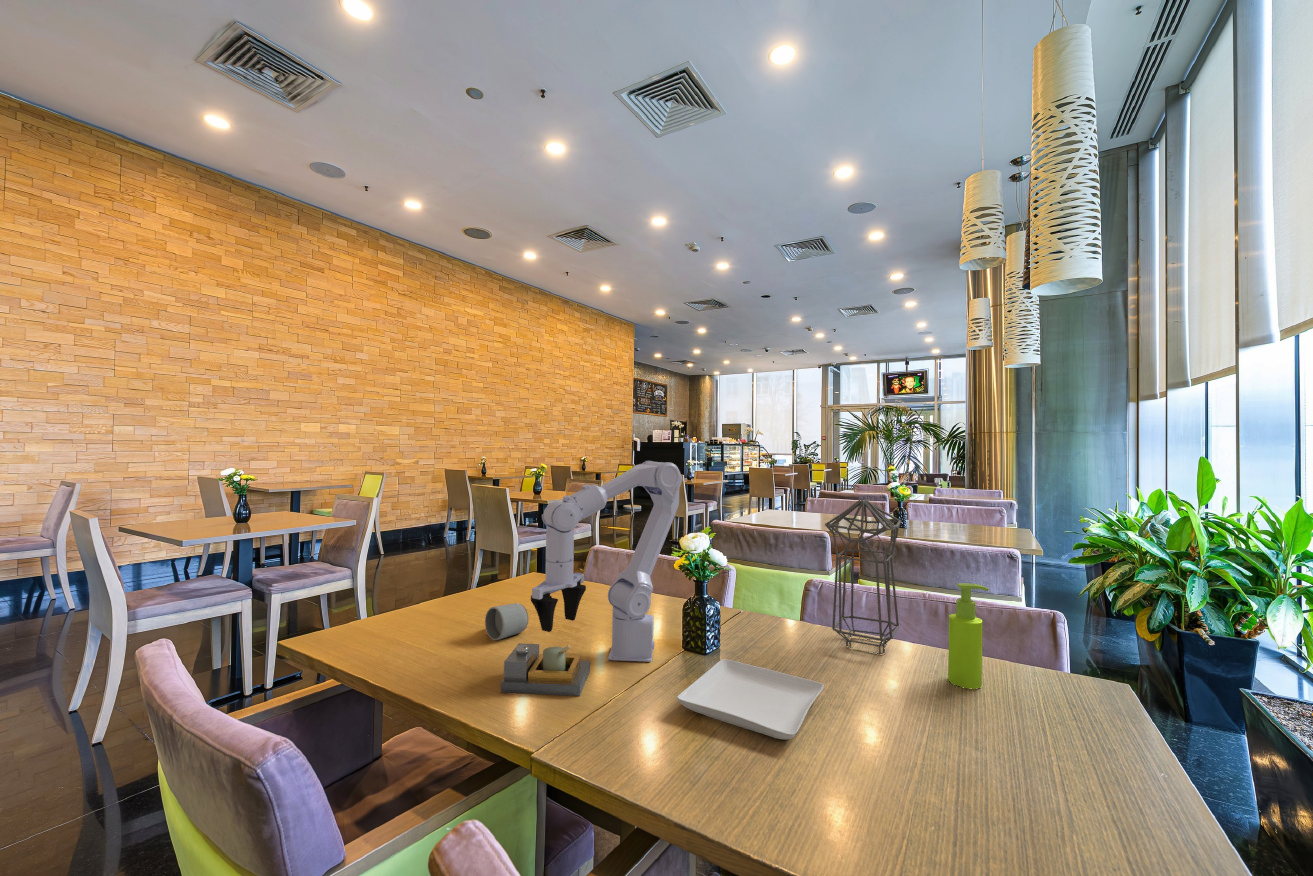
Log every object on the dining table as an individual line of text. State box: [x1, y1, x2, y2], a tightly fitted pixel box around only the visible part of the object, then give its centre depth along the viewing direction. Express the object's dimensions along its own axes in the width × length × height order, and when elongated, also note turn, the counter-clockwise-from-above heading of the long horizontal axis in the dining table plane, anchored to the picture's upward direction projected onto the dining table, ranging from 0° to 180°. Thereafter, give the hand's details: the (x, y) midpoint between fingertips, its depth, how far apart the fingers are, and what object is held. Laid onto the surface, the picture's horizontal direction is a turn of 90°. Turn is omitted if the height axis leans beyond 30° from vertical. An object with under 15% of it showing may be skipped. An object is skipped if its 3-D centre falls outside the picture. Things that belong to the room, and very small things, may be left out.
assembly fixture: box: [500, 642, 591, 697], centre depth 105 cm, size 15×11×7 cm
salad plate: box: [676, 658, 825, 740], centre depth 96 cm, size 21×21×3 cm
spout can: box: [542, 644, 571, 671], centre depth 104 cm, size 4×6×8 cm
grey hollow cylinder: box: [484, 602, 529, 641], centre depth 130 cm, size 11×8×8 cm
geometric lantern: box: [824, 499, 903, 655], centre depth 126 cm, size 16×16×35 cm
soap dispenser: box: [947, 582, 990, 690], centre depth 107 cm, size 6×7×20 cm
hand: (558, 625), depth 110 cm, fingers open, 7 cm apart
